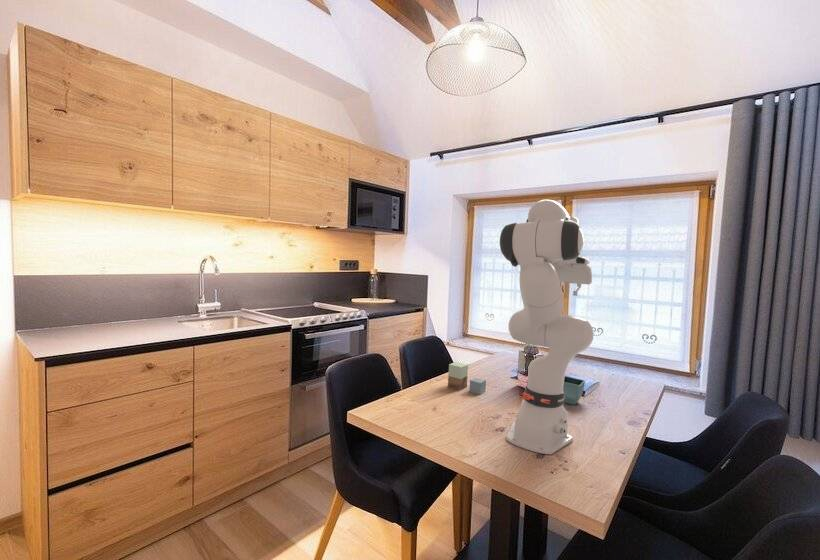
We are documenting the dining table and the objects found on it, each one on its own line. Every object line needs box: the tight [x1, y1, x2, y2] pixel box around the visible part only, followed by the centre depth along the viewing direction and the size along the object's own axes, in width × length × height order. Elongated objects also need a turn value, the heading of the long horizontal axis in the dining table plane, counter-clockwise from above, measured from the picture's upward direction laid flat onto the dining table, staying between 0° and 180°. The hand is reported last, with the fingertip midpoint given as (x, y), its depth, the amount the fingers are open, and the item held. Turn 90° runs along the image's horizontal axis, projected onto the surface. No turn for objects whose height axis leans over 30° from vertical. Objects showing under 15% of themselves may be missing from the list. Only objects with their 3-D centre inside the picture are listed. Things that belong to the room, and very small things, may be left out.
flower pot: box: [563, 375, 586, 406], centre depth 152 cm, size 9×9×9 cm
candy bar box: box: [516, 349, 545, 377], centre depth 166 cm, size 11×5×16 cm, turn 23°
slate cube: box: [468, 377, 487, 395], centre depth 159 cm, size 5×5×5 cm
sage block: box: [448, 361, 469, 379], centre depth 163 cm, size 6×6×5 cm
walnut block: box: [447, 375, 468, 391], centre depth 163 cm, size 6×6×5 cm
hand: (561, 294), depth 147 cm, fingers open, 8 cm apart
